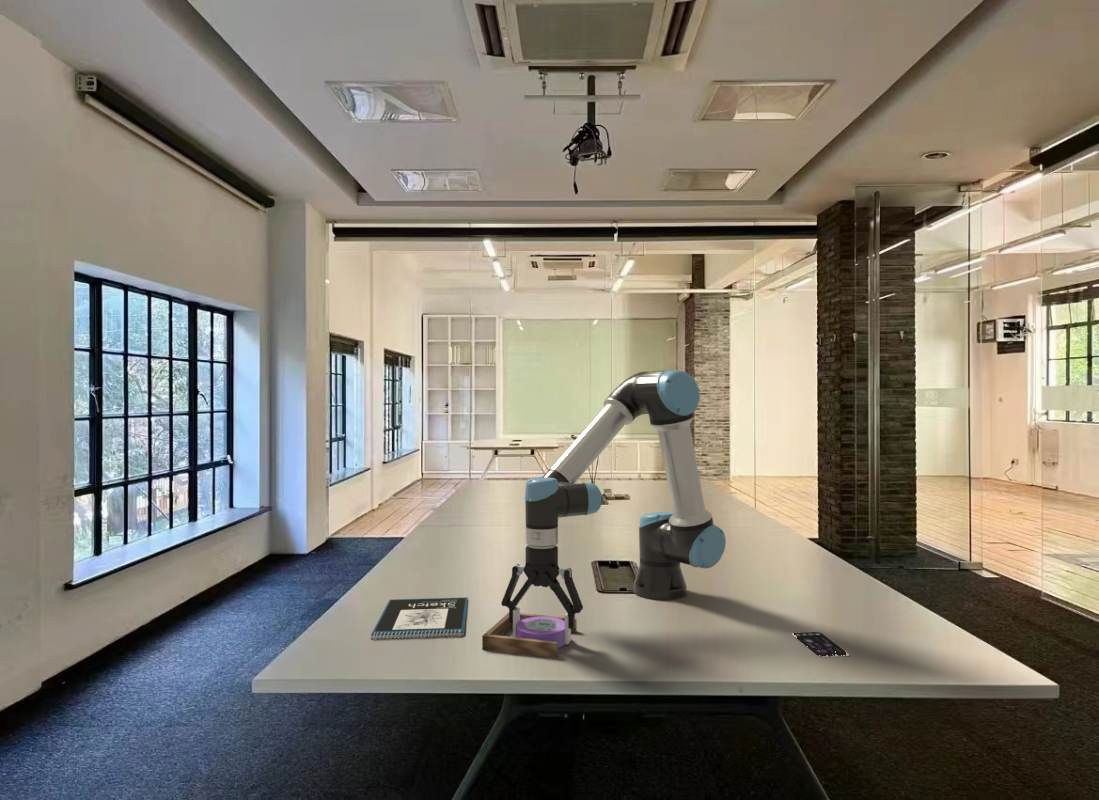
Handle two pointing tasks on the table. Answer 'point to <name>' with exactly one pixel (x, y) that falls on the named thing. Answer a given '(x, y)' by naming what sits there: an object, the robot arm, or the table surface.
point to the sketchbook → (422, 618)
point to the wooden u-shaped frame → (519, 639)
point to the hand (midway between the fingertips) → (541, 639)
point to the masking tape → (542, 629)
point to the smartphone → (819, 644)
